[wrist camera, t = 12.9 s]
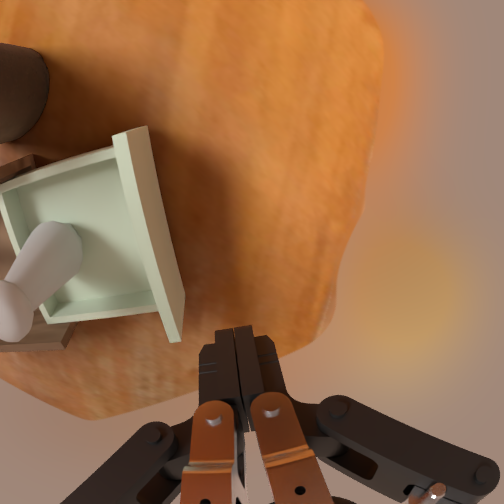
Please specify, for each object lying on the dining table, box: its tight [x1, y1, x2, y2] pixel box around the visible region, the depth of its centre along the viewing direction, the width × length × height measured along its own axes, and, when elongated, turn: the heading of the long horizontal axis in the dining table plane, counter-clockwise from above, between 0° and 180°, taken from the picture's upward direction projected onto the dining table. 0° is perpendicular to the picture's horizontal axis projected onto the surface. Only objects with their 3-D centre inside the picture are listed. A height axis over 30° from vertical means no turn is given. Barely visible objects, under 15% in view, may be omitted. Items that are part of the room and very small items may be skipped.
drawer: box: [0, 125, 185, 343], centre depth 25 cm, size 17×15×7 cm
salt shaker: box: [0, 221, 83, 342], centre depth 21 cm, size 6×6×13 cm
